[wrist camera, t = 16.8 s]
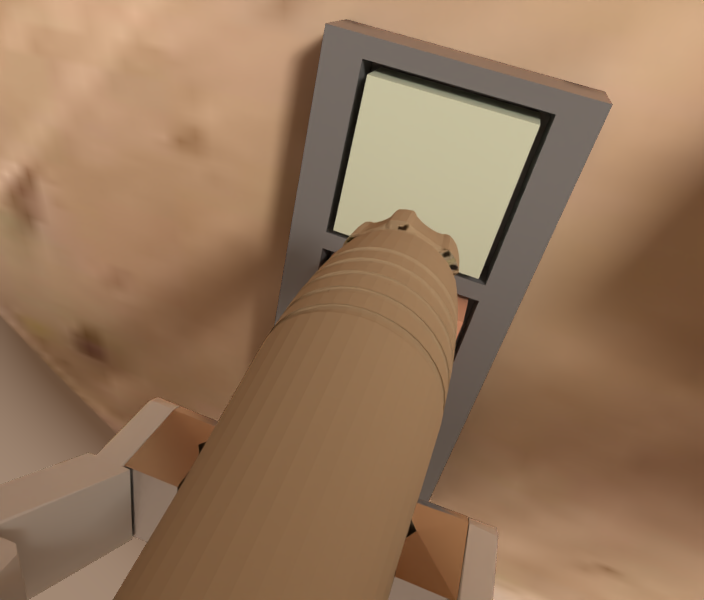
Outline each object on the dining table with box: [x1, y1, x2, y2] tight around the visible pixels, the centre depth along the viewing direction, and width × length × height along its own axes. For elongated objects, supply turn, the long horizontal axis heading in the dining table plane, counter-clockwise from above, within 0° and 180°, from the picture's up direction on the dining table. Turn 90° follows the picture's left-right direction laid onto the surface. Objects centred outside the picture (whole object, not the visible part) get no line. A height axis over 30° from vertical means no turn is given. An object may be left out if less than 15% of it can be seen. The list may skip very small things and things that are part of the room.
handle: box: [113, 209, 459, 600], centre depth 10 cm, size 5×6×15 cm
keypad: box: [274, 19, 613, 501], centre depth 27 cm, size 25×10×3 cm, turn 167°
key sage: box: [333, 67, 540, 279], centre depth 22 cm, size 6×6×2 cm
